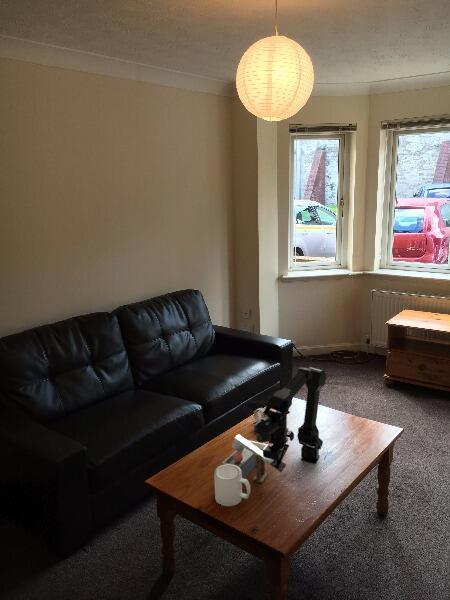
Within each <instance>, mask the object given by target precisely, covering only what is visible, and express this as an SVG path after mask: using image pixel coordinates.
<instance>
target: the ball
mask: <svg viewBox="0 0 450 600" xmlns="http://www.w3.org/2000/svg"><path fill="white" fill-rule="evenodd" d="M233 460H234V461H235V462H237V463H240V462H241V461H242V460H243V455H242V454H241V453H239V452H237V453H235V454H234V455H233Z"/></svg>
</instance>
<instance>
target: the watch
mask: <svg viewBox="0 0 450 600" xmlns="http://www.w3.org/2000/svg"><path fill="white" fill-rule="evenodd" d="M264 411H265V409H264V408H263V407H260V408H259V407H258V408H257V409H255V410H254V411H253V419H254V420H255V423H256V424H254V426H253V431H254V432H255V433H257V434H258V432H257V428H256V426H257V424H258V423H259V422H261V419H262V418H265V417H266V416H267V415H266V414H264ZM258 412H259V413H260V417H261V418H260V417H259V414H258Z"/></svg>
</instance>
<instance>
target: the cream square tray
mask: <svg viewBox="0 0 450 600" xmlns="http://www.w3.org/2000/svg"><path fill="white" fill-rule="evenodd" d="M247 441H249V442H250V443H252V444H253V445H255V446H256V447H257V448H259V449H264V450H265V448H266V447H268V446H269V443H267V444H266V443H264V442H262V443H259V442H258V441H253V440H250V439H247ZM243 451H247V452H251V451H249V450H248V449H246V448H244V450H243Z"/></svg>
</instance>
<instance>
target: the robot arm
mask: <svg viewBox="0 0 450 600" xmlns="http://www.w3.org/2000/svg"><path fill="white" fill-rule="evenodd" d="M326 381H327V373H326V372H325V370H323V369H318V368H314V367H309V368H306V367H299V368H298V370H297V373H295V374H294V376H293V377H292V378H291V379H290V380H289V381H288V382H287V384H286V385H285V386H284V387H283V388H282V389H279V390H277V391H275V392H273V394H272V395H270V397H269V399H268V401H267V403H266V406H265V411H264V414H266V415H267V416H266V417H265V418H260V422H259V423H258V424H257V423H256V424H257V426H256V428H257V432H258V433H257V432H256V433H257V434H256V439H255V440H256V442H259V443H266V442H268V447H266V448H265V450H264V451H263V457H265V458H269V459H273V460H276V462H277V464H279V465H280V464H281V462H283V459H284V457H285V456H286V453H287V451H288V449H289V447H290V444H287V443H288V442H289V441H291V442H292V441H293V440H294V438H295V433H294V432H293V431H292V430H289V427H287V426H288V415H289V414H290V413H291V411H290V409H291V406H292V405H293V399H294V397H295V396H296V395H297V394H298V392H299V391H300V390H301V389H302V388H303V387H304V385H305V386H306V389H307V392H306V393H307V394H306V403H305V410H304V411H305V412H304V417H303V418H304V419H303V423H302V424H301V426H299V427H298V428H297V429H298V430H297V434H296V437H297V441H298V443H299V445H301V446H302V447H301V448H300V449H301V450H300V453H301V454H300V455H301V457H300V458H301V459H300V460H301V461H302V462H307V463H312V464H317V462H318V461H319V459H320V452H319V451H320V450H321V449H322V447H323V445H324V444H323V443H324V440H322V439H321V438H320V431H319V429H318V426H317V420H318V419H317V417H318V410H319V399H320V393H321V390H322V389H323V388H324V387H325V384H326ZM273 410H274V411H273ZM269 444H270V445H271V446H270V445H269Z"/></svg>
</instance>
